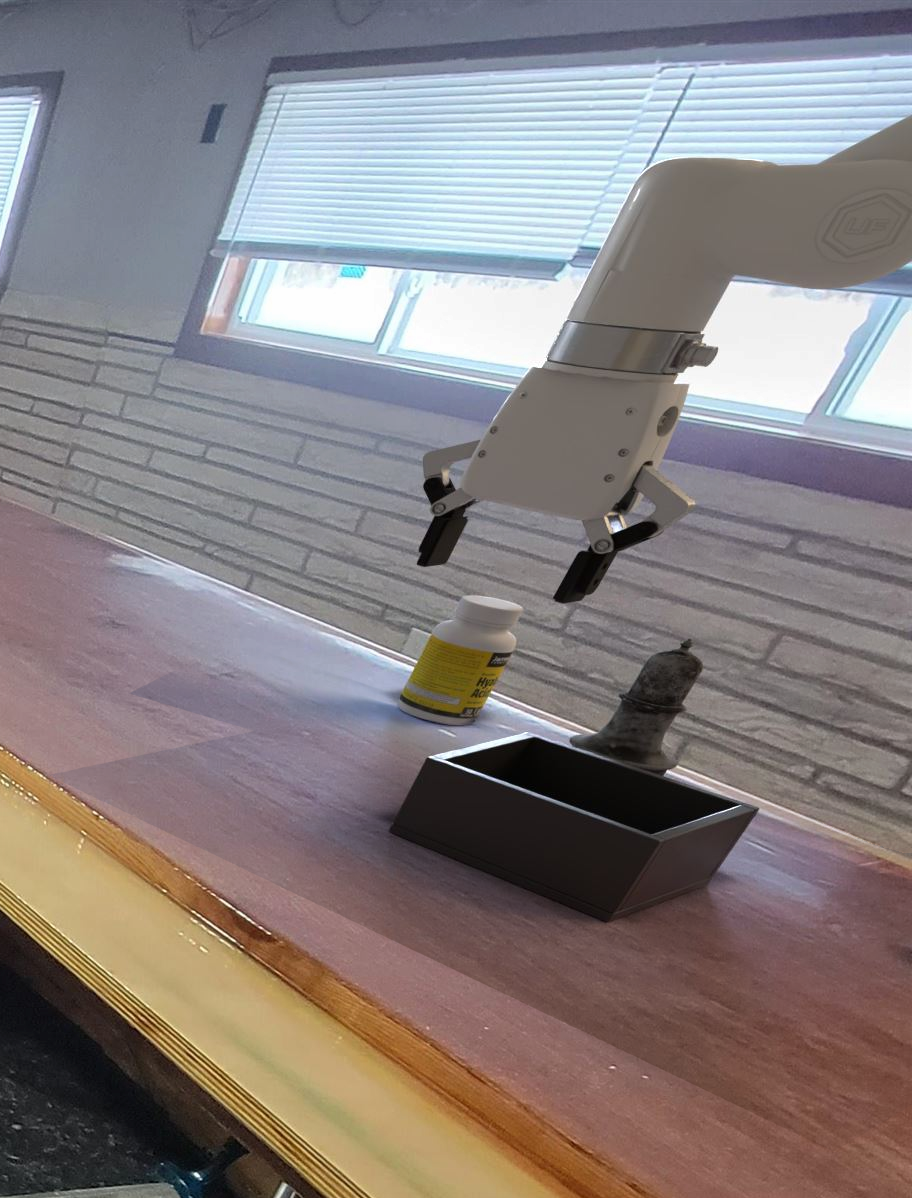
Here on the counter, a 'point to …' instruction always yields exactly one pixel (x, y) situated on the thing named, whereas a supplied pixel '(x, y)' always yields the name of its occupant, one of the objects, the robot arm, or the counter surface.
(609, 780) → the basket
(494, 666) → the supplement bottle
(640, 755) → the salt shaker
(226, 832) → the counter surface
